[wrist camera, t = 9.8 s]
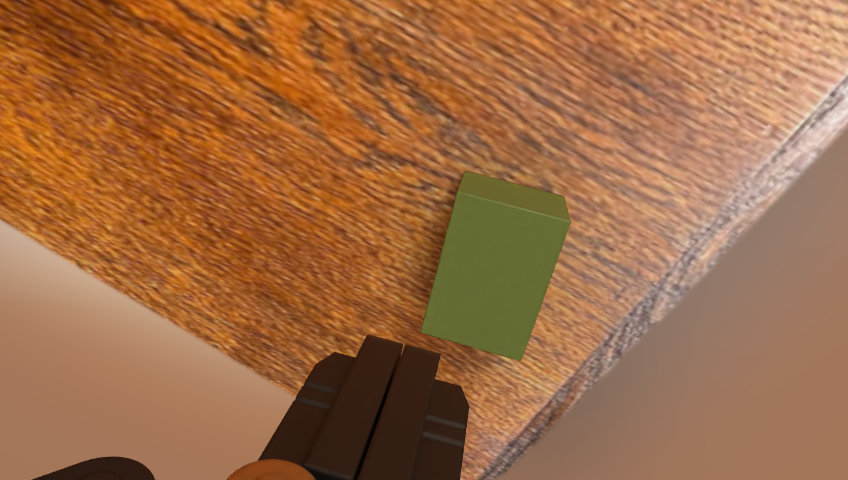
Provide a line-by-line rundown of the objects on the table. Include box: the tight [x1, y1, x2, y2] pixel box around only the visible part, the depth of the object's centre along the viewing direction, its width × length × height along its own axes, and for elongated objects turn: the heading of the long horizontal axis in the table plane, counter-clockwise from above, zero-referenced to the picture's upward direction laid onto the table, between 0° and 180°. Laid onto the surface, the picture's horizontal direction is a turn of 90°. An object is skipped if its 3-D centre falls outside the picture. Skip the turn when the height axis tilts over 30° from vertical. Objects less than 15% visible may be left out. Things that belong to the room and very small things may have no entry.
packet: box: [421, 171, 571, 361], centre depth 20 cm, size 6×4×3 cm
